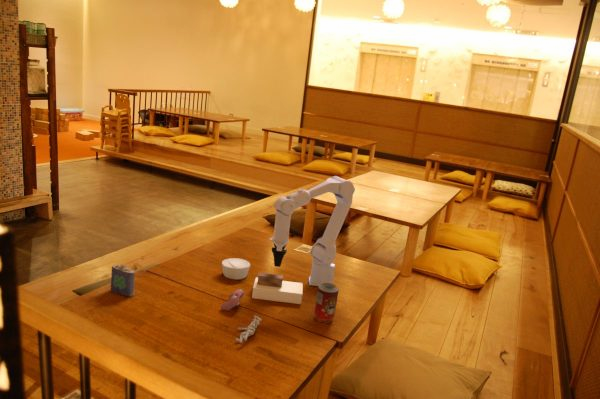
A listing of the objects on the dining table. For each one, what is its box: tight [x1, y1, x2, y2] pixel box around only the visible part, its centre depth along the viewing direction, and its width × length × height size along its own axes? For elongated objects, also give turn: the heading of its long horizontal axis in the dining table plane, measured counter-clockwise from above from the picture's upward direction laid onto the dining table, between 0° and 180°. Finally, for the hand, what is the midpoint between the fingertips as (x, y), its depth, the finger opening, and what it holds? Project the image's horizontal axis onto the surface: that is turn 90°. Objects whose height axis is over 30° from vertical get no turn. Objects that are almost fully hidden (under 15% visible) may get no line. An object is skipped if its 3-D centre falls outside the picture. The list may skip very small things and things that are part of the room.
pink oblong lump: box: [220, 288, 246, 311], centre depth 164 cm, size 10×5×7 cm, turn 169°
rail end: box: [257, 272, 284, 288], centre depth 176 cm, size 9×3×6 cm, turn 89°
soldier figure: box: [235, 315, 263, 344], centre depth 147 cm, size 8×5×12 cm
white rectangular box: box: [251, 276, 304, 305], centre depth 177 cm, size 18×10×4 cm, turn 89°
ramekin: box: [221, 257, 251, 281], centre depth 190 cm, size 11×11×5 cm
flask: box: [109, 263, 136, 298], centre depth 161 cm, size 9×3×11 cm, turn 68°
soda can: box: [314, 283, 340, 324], centre depth 163 cm, size 7×7×12 cm
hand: (277, 262), depth 182 cm, fingers open, 7 cm apart
